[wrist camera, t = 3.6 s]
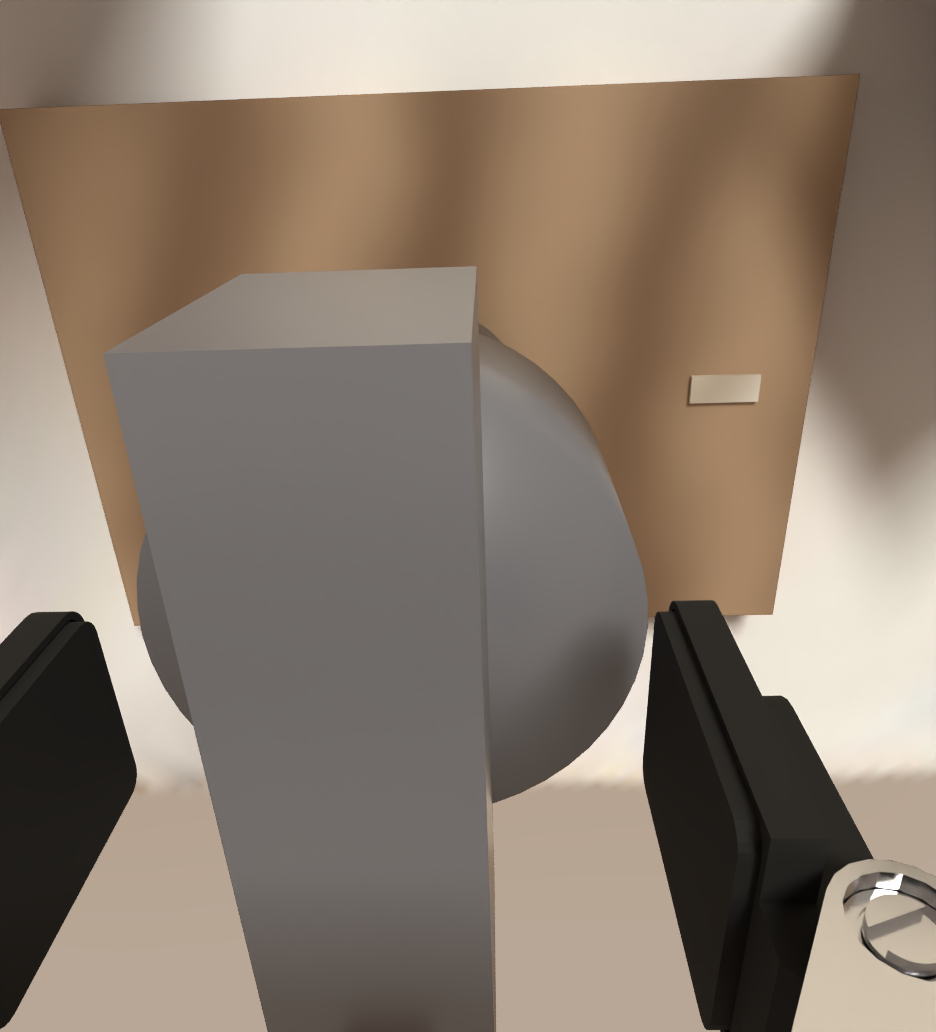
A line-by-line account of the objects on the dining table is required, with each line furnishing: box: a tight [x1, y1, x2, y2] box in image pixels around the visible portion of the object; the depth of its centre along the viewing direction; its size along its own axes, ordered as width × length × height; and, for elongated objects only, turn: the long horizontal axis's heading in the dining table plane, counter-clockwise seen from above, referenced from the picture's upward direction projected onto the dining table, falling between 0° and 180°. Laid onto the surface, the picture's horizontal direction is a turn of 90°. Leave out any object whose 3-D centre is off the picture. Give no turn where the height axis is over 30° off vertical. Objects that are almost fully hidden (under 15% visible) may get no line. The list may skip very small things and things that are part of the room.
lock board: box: [0, 74, 860, 626], centre depth 20 cm, size 22×16×10 cm
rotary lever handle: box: [103, 266, 648, 1032], centre depth 12 cm, size 8×11×9 cm
